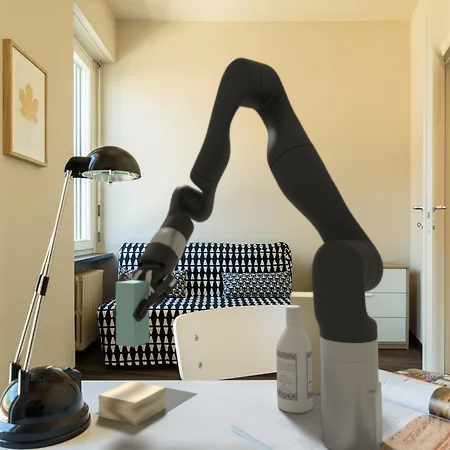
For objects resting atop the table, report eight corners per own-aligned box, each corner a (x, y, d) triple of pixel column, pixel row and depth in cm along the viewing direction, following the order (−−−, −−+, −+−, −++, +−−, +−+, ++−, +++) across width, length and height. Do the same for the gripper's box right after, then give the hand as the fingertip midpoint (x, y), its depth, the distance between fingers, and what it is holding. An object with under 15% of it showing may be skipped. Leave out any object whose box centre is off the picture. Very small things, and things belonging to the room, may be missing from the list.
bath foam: (303, 399, 89) (301, 303, 90) (318, 412, 82) (316, 307, 83) (272, 402, 87) (270, 304, 88) (285, 416, 80) (283, 309, 81)
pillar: (149, 341, 84) (148, 281, 84) (134, 347, 80) (133, 283, 81) (131, 339, 86) (131, 280, 87) (116, 344, 82) (115, 282, 83)
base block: (165, 407, 84) (165, 387, 85) (135, 425, 77) (135, 402, 77) (130, 400, 89) (130, 380, 89) (98, 416, 81) (98, 394, 81)
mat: (197, 394, 92) (197, 393, 92) (143, 427, 76) (143, 426, 76) (153, 386, 98) (153, 385, 98) (94, 415, 82) (94, 413, 82)
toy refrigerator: (325, 395, 91) (323, 296, 92) (291, 393, 93) (289, 296, 93) (324, 382, 99) (322, 292, 100) (292, 381, 100) (291, 291, 101)
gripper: (129, 241, 94) (88, 303, 83) (183, 240, 87) (146, 308, 76) (145, 263, 98) (108, 326, 87) (197, 264, 91) (164, 332, 80)
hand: (126, 317), depth 82 cm, fingers closed on pillar, 4 cm apart
